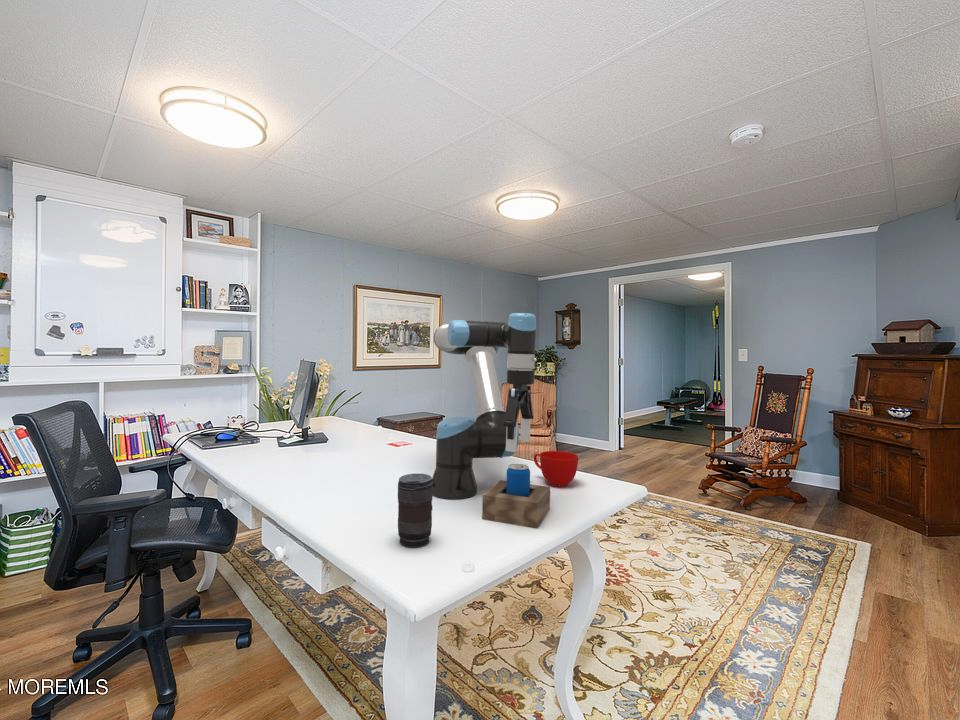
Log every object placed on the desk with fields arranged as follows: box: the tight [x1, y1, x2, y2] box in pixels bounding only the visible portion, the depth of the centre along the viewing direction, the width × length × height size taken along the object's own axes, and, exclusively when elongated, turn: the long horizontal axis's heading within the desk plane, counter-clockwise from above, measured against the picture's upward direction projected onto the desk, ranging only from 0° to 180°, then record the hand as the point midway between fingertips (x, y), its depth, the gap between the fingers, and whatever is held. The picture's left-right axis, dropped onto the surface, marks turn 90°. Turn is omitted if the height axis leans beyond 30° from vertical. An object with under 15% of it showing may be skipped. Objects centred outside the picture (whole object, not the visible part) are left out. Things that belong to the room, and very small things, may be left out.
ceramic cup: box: [533, 450, 579, 488], centre depth 152 cm, size 13×17×10 cm
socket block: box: [481, 480, 551, 529], centre depth 121 cm, size 15×15×6 cm
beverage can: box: [505, 463, 531, 497], centre depth 121 cm, size 6×6×12 cm
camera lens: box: [397, 473, 434, 548], centre depth 102 cm, size 8×8×15 cm
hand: (518, 446), depth 121 cm, fingers open, 13 cm apart
